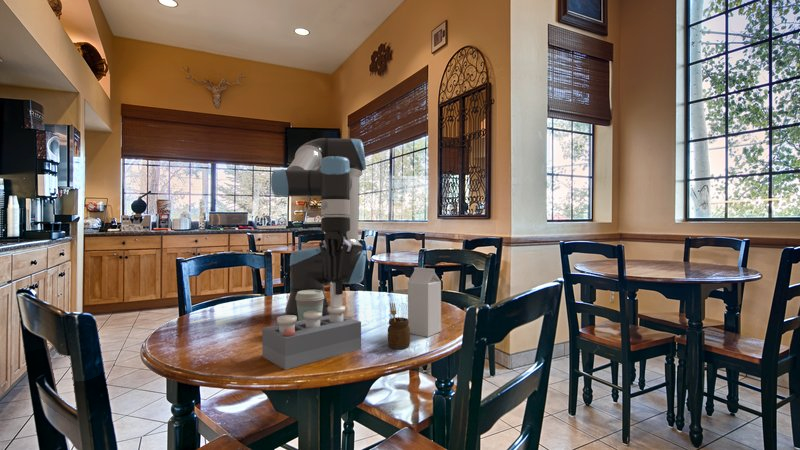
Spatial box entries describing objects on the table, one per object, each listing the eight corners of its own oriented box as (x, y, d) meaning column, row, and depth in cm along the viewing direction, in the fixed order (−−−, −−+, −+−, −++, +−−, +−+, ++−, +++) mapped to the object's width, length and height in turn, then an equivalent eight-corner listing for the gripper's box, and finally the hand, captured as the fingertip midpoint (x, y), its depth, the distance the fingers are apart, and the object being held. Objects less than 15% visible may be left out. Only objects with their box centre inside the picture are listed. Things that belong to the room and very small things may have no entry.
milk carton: (428, 337, 113) (427, 270, 113) (407, 333, 117) (407, 268, 117) (441, 331, 118) (441, 267, 118) (421, 328, 123) (421, 266, 122)
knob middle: (300, 340, 101) (300, 312, 101) (316, 336, 104) (316, 309, 104) (309, 344, 97) (309, 315, 97) (325, 340, 100) (325, 312, 100)
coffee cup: (318, 336, 114) (317, 294, 114) (290, 335, 116) (289, 294, 116) (329, 328, 122) (328, 289, 122) (303, 327, 124) (302, 288, 124)
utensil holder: (414, 344, 107) (414, 299, 106) (402, 351, 101) (402, 304, 101) (395, 341, 110) (395, 297, 109) (382, 347, 104) (382, 301, 104)
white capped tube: (273, 346, 96) (273, 317, 96) (291, 342, 99) (291, 314, 99) (282, 351, 93) (282, 320, 92) (300, 346, 96) (300, 317, 96)
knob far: (324, 333, 105) (324, 307, 105) (339, 330, 108) (338, 304, 108) (334, 337, 102) (333, 310, 102) (348, 333, 105) (348, 307, 105)
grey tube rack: (262, 356, 98) (262, 323, 98) (335, 338, 112) (335, 309, 112) (285, 369, 89) (285, 333, 89) (361, 348, 103) (361, 317, 103)
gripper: (310, 216, 107) (310, 304, 107) (337, 216, 98) (338, 312, 98) (333, 216, 112) (334, 301, 112) (362, 216, 103) (362, 308, 103)
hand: (336, 306), depth 105 cm, fingers closed
